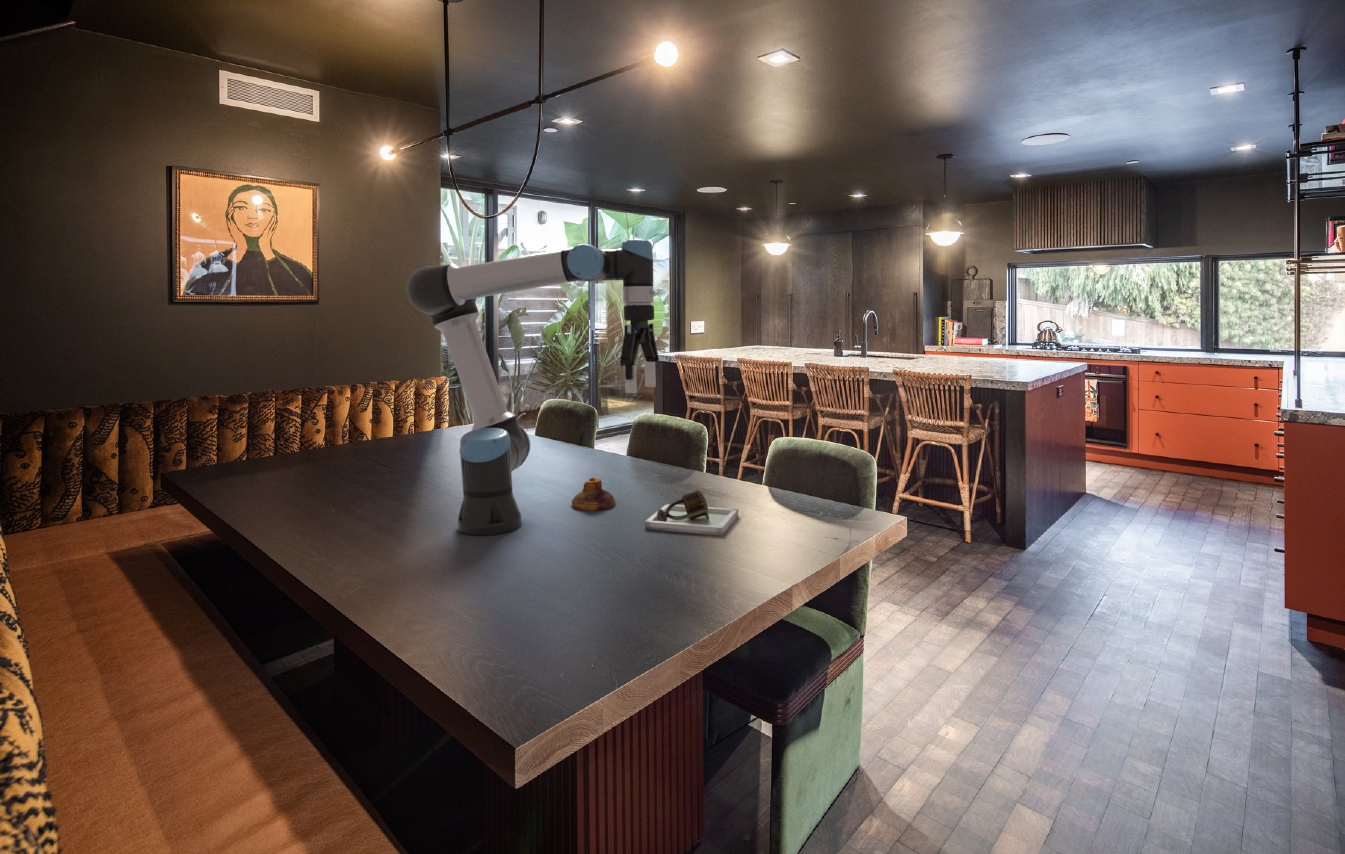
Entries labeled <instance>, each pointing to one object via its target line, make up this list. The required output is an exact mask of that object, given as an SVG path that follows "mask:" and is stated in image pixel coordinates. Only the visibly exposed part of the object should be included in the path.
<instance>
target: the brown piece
mask: <svg viewBox="0 0 1345 854" xmlns="http://www.w3.org/2000/svg"><path fill="white" fill-rule="evenodd" d="M681 497H682V498H681V499H678V500H676V501H674V502H672V503H670V504H671V505H669V506H668V508H667V510H666V512H664V511H663V510H662V509H661V508H659V509H658V510H657V511H658V512H657V511H656V512H657V518H658V520H659V521H663V522H667V518H668V517H669V518H670V519H673V520H682V519H687V518H689V519H690V520H693V519H696V518H698V517H702V516H705V517H706V518H707V520H709V515H708V511H707V510H708V507H709V506H708V503H707V500H706V499H705V496H704V494H703V492H702V491H701V490H700V489H697V490H695V491H691V492H687V493H686V494H683V495H681ZM682 504H683V505H684V506H685V509H686V512H687V514H686V515H682V516H672V515H670V514H669V511H670V509H671V508H672V507H674V506H675V505H682Z"/></svg>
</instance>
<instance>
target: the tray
mask: <svg viewBox="0 0 1345 854" xmlns="http://www.w3.org/2000/svg"><path fill="white" fill-rule="evenodd" d="M671 504H672V503H666V504H664V505H663V506H662V507H661V508H660V509H662V510H663V511H664V512H666V510H667V508H668V506H669V505H671ZM707 507H708V510H707V511H708V515H709V520H707V518H706V517H705V516H702V517H698V518H696V519H693V520H690V519H689V518H687V519H682V520H673V519H670V518H669V517H668V518H667V522H663V521H659V520H658V518H657V512H658V510H657V511H656V512H655V513H653V514H652V515H651V516H650V517H648V518H647V519H646V520H645V521H644V529H645V530H655V531H665V532H678V533H689V534H700V535H701V534H702V535H713V536H723V535H724V534H725V532H726V531H727V530H728V529H729V528H730V527H731V525H732V524H733V523H734V522H735V520H736V519H737V518H738V517H739V508H726V507H712V506H711V507H710V506H707ZM669 514H670V515H672V516H682V515H686V514H687V512H686V509H685V506H684V504H678V505H675V506H674V507H672V508H671V509H670V511H669Z"/></svg>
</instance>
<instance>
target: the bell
mask: <svg viewBox="0 0 1345 854" xmlns="http://www.w3.org/2000/svg"><path fill="white" fill-rule="evenodd" d="M615 505H616V499H615V497H614V495H613V494H612V493H610V491H608V490H606V489H603V483H602V480H601V479H600V478H598V477H590V478H589V481H588V480H587V481H585V482H584V484H583V488H582V490H581V491H580V492H578V493H577V494H575V496H574V497H573V498H572V500H571V506H572V507H573V508H574V509H577V510H579V511H588V512H589V511H593V512H594V511H600V510H607V509H610V508H612V507H614V506H615Z"/></svg>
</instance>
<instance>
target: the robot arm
mask: <svg viewBox="0 0 1345 854" xmlns="http://www.w3.org/2000/svg"><path fill="white" fill-rule="evenodd" d="M578 281H579V282H588V283H590V282H603V281H622V296H623V297H622V298H623V300H622V301H623V304H625V305H624V306H623V319H624V321H627V322H630V324H624V334H623V335H624V336H623V341H622V342H623V343H622V347H621V355H620V359H619V361H620V362H619V363H620V365H619V366H620V367H624V392H625V394H636V393H637V394H638V389H637V388H638V387H637V366H636V365H635V363H636V359H637V356H638V352H639V349H640V347H641V350H642V352H643V355H644V359H645V361H644V363H643V364H644V387H645V388H656V385H657V383H656V381H657V380H656V362H659V361H660V359H659V352H658V347H657V341H656V337H655V333H654V332H655V331H654V323H651V322H650V323H649V321H653V320H655V306H654V305H652V304H653V303H654V299H655V298H654V295H655V294H656V290H654V255H653V244H652V243H651V241H649V240H647V239H626V240H623V241H622V242H621V247H620V248H617V249H601V248H600V249H599V248H598V247H596V246H595V245H593V244H589V243H580V244H577V245H575V246H573V247H568V248H563V249H556V250H551V251H545V252H539V253H532V254H527V255H523V256H522V255H521V256H517V257H511V258H505V259H499V260H494V261H488V262H483V263H476V264H469V265H464V266H460V267H459V266H457V265H456V264H455V263H451V264H443V265H427V266H422V267H420V268H418V269H415V271H414V272H413V273H412V274H411V275H410V277H409V278H408V282H407V283H406V293H407V298H408V300H409V302H410V304H411V305H412V306H413V307H414V308H415V309H416V310H417V311H419V312H421V313H423V314H425V315H429V317H430V320H431V323H432V325H433V328H435V329H436V330H438V331H440V332H441V333H442V334H443V337H444V340H445V342H446V346H447V348H448V350H449V352H450V353H449V354H450V355H451V358H452V359H451V360H452V362H453V364H454V366H455V370H456V372H457V375H458V377H459V380H460V384H461V386H462V390H463V392H464V394H465V397H466V400H467V402H468V406H469V408H470V411H471V414H472V415H473V418H474V423H473V426H472V427H471V430H470V431H467V432H466V433H464V434H463V435H462V436H461V438H460V441H459V455H460V469H461V478H462V479H461V480H462V493H463V494H462V495H463V498H462V502H461V505H460V510H459V514H458V518H457V529H458V532H460V533H462V534H464V535H465V534H466V535H471V536H472V535H473V536H490V535H491V536H492V535H497V534H498V535H499V534H505V533H507V532H510V531H514V530H516V529H518V528H520V526H522V523H523V522H522V513H521V512H520V509H519V506H518V503H517V501H516V498H515V495H514V493H513V477H512V476H513V473H512V472H513V471H514V470H516V469H518V468H519V467H521V466H522V465H523V464H524V462H525V461H526V460H527V458H528V456H529V454H530V451H531V440H530V437H529V434H528V432H527V431H526V430H525V429H524V428H523V427H521V426H520V425H519V421H518V419H517V416H516V414H514V413H513V412H511V411H509V410H508V409H507V406H506V403H505V399H504V397H503V394H502V392H501V389H500V386H499V383H498V381H497V378H496V375H495V372H494V369H493V366H492V364H491V363H492V362H491V361H490V358H489V355H488V352H487V349H486V347H485V344H484V341H483V338H482V336H481V333H480V329H479V327H478V325H477V320H478V318H479V317H480V312H479V309H478V306H477V303H476V302H477V299H480V298H486V297H490V296H498V295H502V294H508V293H514V292H520V291H524V290H525V291H526V290H531V289H537V288H543V287H549V286H554V285H560V284H566V283H572V282H573V283H574V282H578Z"/></svg>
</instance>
